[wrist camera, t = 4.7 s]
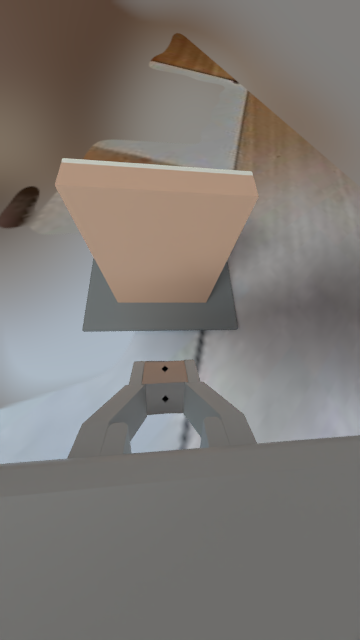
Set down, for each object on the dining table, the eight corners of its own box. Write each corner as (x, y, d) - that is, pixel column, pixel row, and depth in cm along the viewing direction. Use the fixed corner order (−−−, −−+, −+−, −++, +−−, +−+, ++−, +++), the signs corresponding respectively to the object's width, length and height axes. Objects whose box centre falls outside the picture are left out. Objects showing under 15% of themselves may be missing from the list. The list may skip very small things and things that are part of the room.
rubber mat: (236, 329, 25) (237, 328, 24) (84, 331, 23) (82, 330, 22) (216, 204, 33) (217, 201, 33) (104, 198, 31) (103, 195, 31)
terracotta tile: (206, 302, 25) (258, 196, 11) (117, 302, 24) (54, 184, 10) (204, 287, 26) (251, 171, 12) (119, 286, 25) (62, 158, 11)
